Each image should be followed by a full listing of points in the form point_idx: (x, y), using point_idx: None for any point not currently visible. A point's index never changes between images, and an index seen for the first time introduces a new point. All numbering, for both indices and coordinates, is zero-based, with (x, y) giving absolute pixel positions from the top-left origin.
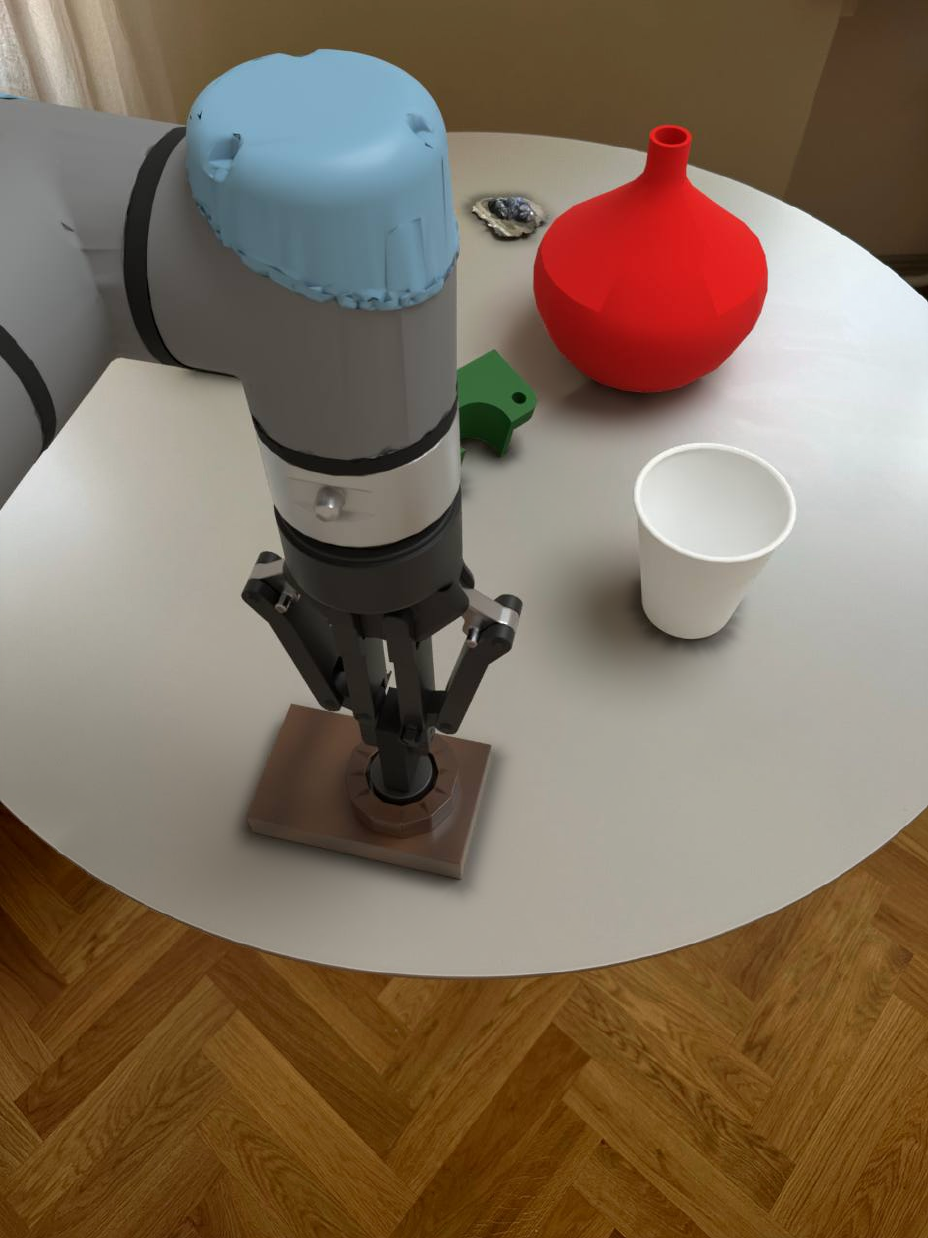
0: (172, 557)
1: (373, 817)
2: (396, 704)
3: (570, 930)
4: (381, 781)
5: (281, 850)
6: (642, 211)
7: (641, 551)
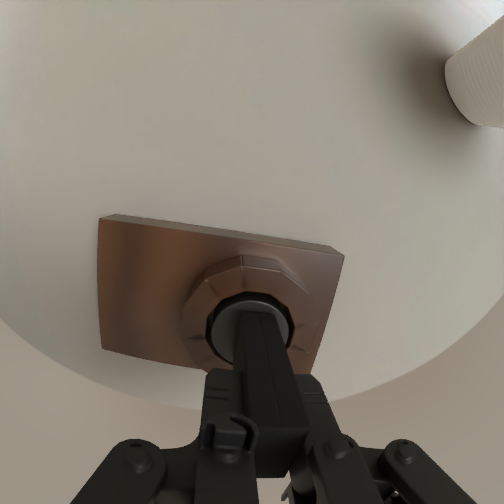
0: (13, 68)
1: None
2: (271, 450)
3: (373, 374)
4: (227, 351)
5: None
6: None
7: (500, 66)
